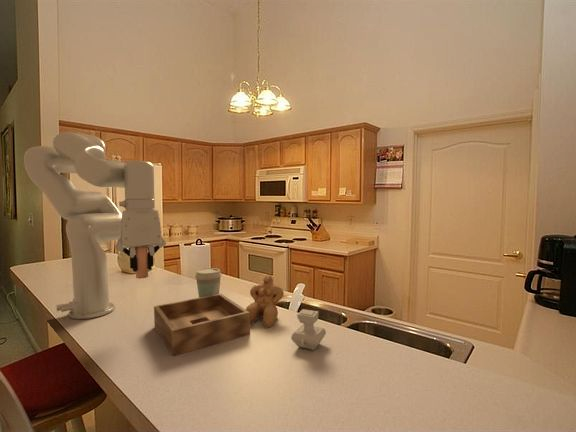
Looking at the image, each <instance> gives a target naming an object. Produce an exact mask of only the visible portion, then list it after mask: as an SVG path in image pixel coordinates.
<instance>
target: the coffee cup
mask: <svg viewBox="0 0 576 432" xmlns="http://www.w3.org/2000/svg"><path fill="white" fill-rule="evenodd" d="M221 277H222V273H221V270H220V268H215V267H209V268H208V267H207V268H206V267H205V268H201V269H198V270H197V271H196V273H195V279H196V285H197V292H198V298H200V297H205V296H211V295H216V294H220V287H221V286H220V285H221Z"/></svg>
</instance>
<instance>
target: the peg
mask: <svg viewBox="0 0 576 432" xmlns="http://www.w3.org/2000/svg"><path fill="white" fill-rule="evenodd" d="M135 257H136V258H137V271H136V272H135V279H139V280H140V279H147V278H148V277H149V270H148V246H140V247H135Z"/></svg>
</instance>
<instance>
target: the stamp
mask: <svg viewBox="0 0 576 432" xmlns="http://www.w3.org/2000/svg"><path fill="white" fill-rule="evenodd" d="M296 316H297V320H298V321H299V323H300V324H302V325H301V326H299V327H298V329H296V330H295V331H294V332H293V333H292V335H291V338H290V339H291V341H292V342H293V343H294V344H295V345H296V347H299V348H304V349H308V350H312V351H315V349H316V348H317V347H318V346H319V345H320V343H321V342H322V341H323V339H324V338H325V335H326V334H327V331H326V329H325V328H323V327H320V326H319V327H318V326H315V325H314V324H315V323H316V322H317V321H318V320H319V310H312V309H306V308H304V309H303V308H302V309H301V310H300V311H299V312H298V313H297V314H296Z"/></svg>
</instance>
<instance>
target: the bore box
mask: <svg viewBox="0 0 576 432" xmlns="http://www.w3.org/2000/svg"><path fill="white" fill-rule="evenodd" d="M153 314H154V315H153V318H154V328H155V330H156V331H157V333H158V334H159V335H158V336H160V337H161V339H162V341H163V342H164V344H165V345H166V347H167V349H168V350H169V352H170V353H171V355H172V356H173V357H174V356H177V355H181V354H185V353H188V352H192V351H195V350H200V349H202V348H207V347H211V346H213V345H218V344H220V343H224V342H228V341H232V340H236V339H238V338H239V339H240V338H241V337H246V336H248V335H251V324H250V312H248V311H247V310H246V308H244V307H242V306H241V305H239V303H236V302H235V301H233V300H232V299H230V298H228V297H227V296H226V295H223V294H222V293H219V294H216V295H211V296H205V297H200V298H199V297H196V298H190V299H185V300H181V301H175V302H174V301H173V302H169V303H163V304H159V305H158V304H157V305H154V306H153Z"/></svg>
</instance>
